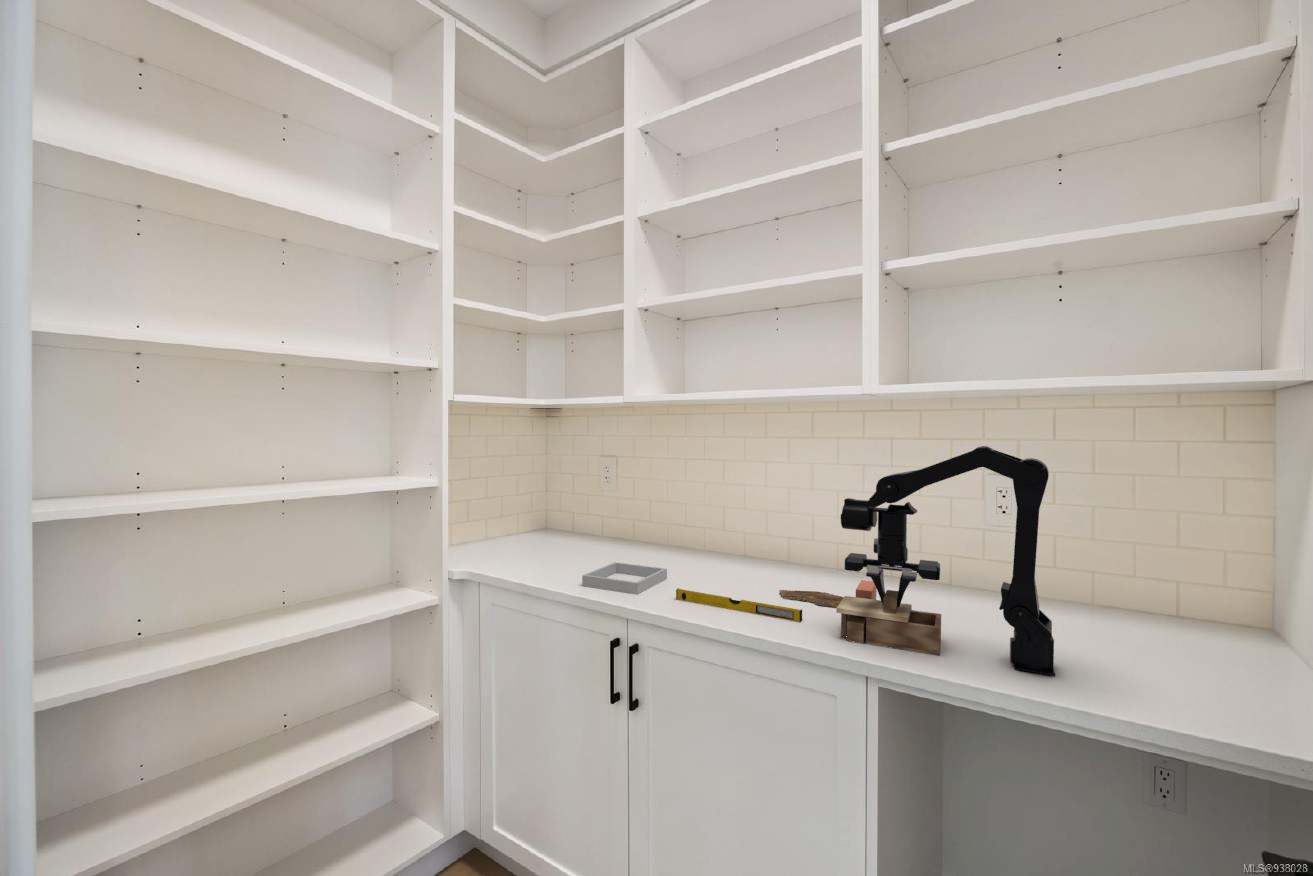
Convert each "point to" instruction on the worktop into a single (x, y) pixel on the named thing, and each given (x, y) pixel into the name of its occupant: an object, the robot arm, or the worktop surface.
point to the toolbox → (896, 631)
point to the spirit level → (740, 605)
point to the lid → (876, 607)
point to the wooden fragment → (812, 597)
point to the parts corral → (599, 581)
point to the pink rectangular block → (866, 590)
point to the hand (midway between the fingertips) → (891, 605)
